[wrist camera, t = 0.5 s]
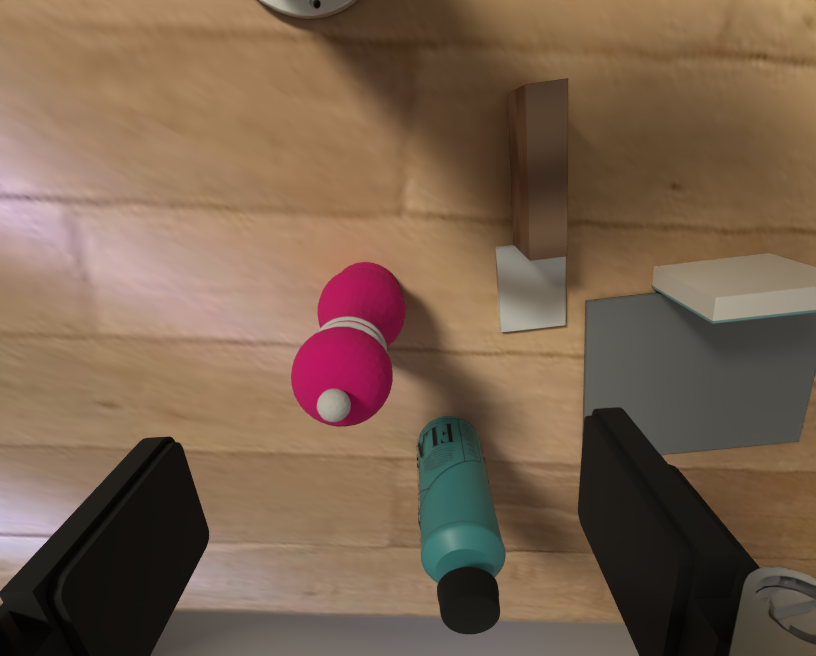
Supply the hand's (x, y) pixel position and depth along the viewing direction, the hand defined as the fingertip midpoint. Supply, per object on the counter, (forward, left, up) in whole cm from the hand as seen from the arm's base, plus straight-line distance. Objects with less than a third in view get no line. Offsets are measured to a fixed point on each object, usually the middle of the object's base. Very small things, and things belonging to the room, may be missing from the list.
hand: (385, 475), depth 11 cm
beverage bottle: (+21, +2, -32) cm, 38 cm away
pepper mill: (+5, -4, -32) cm, 32 cm away
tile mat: (+17, +27, -32) cm, 45 cm away
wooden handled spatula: (+1, +11, -32) cm, 33 cm away
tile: (+7, +27, -32) cm, 42 cm away
